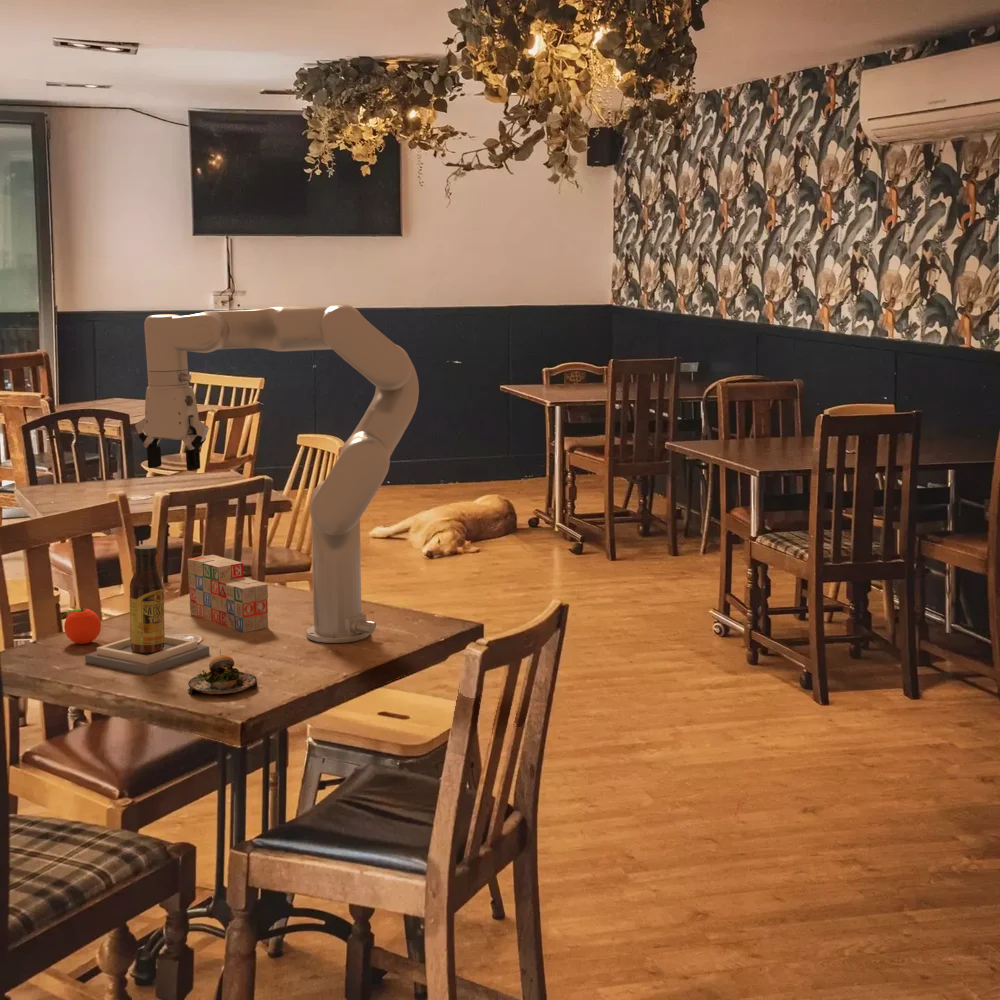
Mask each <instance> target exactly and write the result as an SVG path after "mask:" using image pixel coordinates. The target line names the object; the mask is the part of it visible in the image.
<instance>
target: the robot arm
mask: <svg viewBox="0 0 1000 1000" xmlns="http://www.w3.org/2000/svg"><path fill="white" fill-rule="evenodd" d="M144 339H145V340H144V341H145V352H146V353H145V355H146V366H147V367H146V369H147V370H146V371H147V384H148V386H147V387H146V392H145V399H144V400H145V403H144V418H143V419H141V420H139V421H138V422H137V423H135V424H134V425H135V429H136V432H137V433H138V434H137V435H138V437H139V439H140V441H141V442H142V443H143V447H144V448H145V449H146V456H147V457H146V458H147V460H146V461H147V467H148V469H154V468H160V467H161V466H162V465H163V464H162V453H161V452H162V449H161V446H160V445H158V444H159V443H160V441H161V440H180V441H181V440H182V441H183V443H184V445H185V446H186V447H187V449H186V450H185V462H186V470H187V471H189V472H190V471H195V470H199V469H201V456H200V449H201V448H202V447H203V445H204V443H205V442H206V440H207V435H208V432H209V430H210V429H209V426H208V425H207V424H205V423H204V422H202V421H201V420H200V417H199V409H198V405H197V398H196V394H195V391H194V388H193V386H191V385H190V384H189V383H190V381H191V380H192V375H191V374H190V373H189V370H188V369H189V368H188V366H189V365H188V352H191V353H192V352H193V353H200V354H201V353H202V354H206V353H212V352H214V351H218V350H232V349H235V350H236V349H263V350H268V351H272V352H273V351H274V352H299V351H301V352H302V351H322V350H325V351H327V350H332V351H333V352H335V353H336V354H337V355H338V356H340V358H341V359H343V360H344V361H345V362H346V363H348V365H350V366H351V367H352V368H353V369H355V370H356V371H357V372H358V373H359V374H361V375H362V376H363V377H364V378H366V379H367V381H369V382H370V383H371V384H373V386H375V392H374V395H373V397H372V400H371V402H370V404H369V406H368V407H367V409H366V411H365V412H364V413H363V414H364V415H363V417H362V418H361V419H360V421H359V423H358V424H357V425H356V427H355V429H354V430H353V432H352V433H351V435H350V436H349V437H348V438H347V440H346V441H344V443H343V445H342V447H341V450H340V454H339V457H338V458H337V460H336V461H335V463H334V465H333V467H332V468H331V470H330V471H329V473H328V474H327V476H326V478H325V479H324V480H323V481H321V482H319V483H318V484H317V486H315V488H314V490H313V491H312V494H311V496H310V502H309V504H310V505H309V514H310V518H311V519H310V520H311V563H312V569H311V571H312V572H311V573H312V598H313V599H312V601H313V603H312V604H313V605H312V606H313V607H312V608H313V609H312V611H313V625H312V626H310V627H308V628H307V629H306V631H305V635H306V638H307V639H308V640H311V641H313V642H318V643H325V644H342V643H344V644H345V643H351V642H352V643H353V642H357V641H358V642H359V641H361V640H364V639H366V638H367V637H369V636H370V635H371V634H373V633H374V632H375V629H376V628H377V623H376V622H375V621H368V620H367V613H365V612H362V611H363V610H362V571H361V570H362V565H361V564H362V563H361V562H362V561H361V559H362V557H361V554H362V553H361V549H362V548H361V519H362V518H361V517H362V516H363V514H364V513H365V511H366V510H367V508H368V506H369V505H370V504H371V502H372V500H373V498H374V497H375V496H376V494H377V492H378V490H379V489H380V488H381V486H382V484H383V482H384V481H385V478H386V476H387V475H388V472H389V470H390V463H391V460H390V459H391V456H392V454H393V453H394V451H395V448H396V447H397V445H398V444H399V443H400V440H401V439H402V437H403V435H404V433H405V431H406V430H407V429H408V426H409V424H410V423H411V421H412V419H413V416H414V414H415V412H416V409H417V408H418V407H417V406H418V404H419V403H418V402H419V396H420V395H419V393H420V387H419V379H418V378H419V377H418V375H417V371H416V368H415V366H414V364H413V362H412V359H411V358H410V356H409V354H408V352H406V350H405V349H404V348H402V346H400V345H399V344H396V343H394V342H393V341H392V340H391V339H389V338H388V337H387V336H386V335H385V334H383V333H382V332H381V331H380V330H379V329H378V328H376V326H374V325H373V324H371V322H370V321H368V320H367V319H366V318H365V317H364V316H363V315H362V314H361V312H360V311H359V310H358V309H357V308H355V307H353V306H351V305H349V304H322V305H321V304H319V305H295V306H293V305H292V306H274V307H267V308H261V309H245V310H244V309H242V310H236V309H235V310H218V311H217V310H212V311H209V310H208V311H203V312H199V313H194V314H188V315H180V314H174V313H173V314H168V313H167V314H166V313H165V314H153V315H152V314H151V315H149V316H147V317H146V318H145V320H144Z"/></svg>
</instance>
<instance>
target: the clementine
mask: <svg viewBox="0 0 1000 1000" xmlns="http://www.w3.org/2000/svg"><path fill="white" fill-rule="evenodd" d="M69 612H70V613H69ZM66 613H69V614H68V615H67V617H66V618H65V621H64V627H63V628H64V632H65V635H66V636H67V638H68V639H69V640H70V641H71V642H73V643H75V644H79V645H85V644H86V645H87V644H89V643H92V642H93V641H95V640H96V639H97V638H98V637H99V635H100V634H101V629H102V622H101V619H100V617H99V616H98V614H97V613H96V612H95V611H93V610H92V609H89V608H83V607H81V608H74V609H70V610H68V611H67V612H65V613H64V614H63V615H62V616H61V618H60V620H62V619H63V616H64V615H66Z"/></svg>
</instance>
